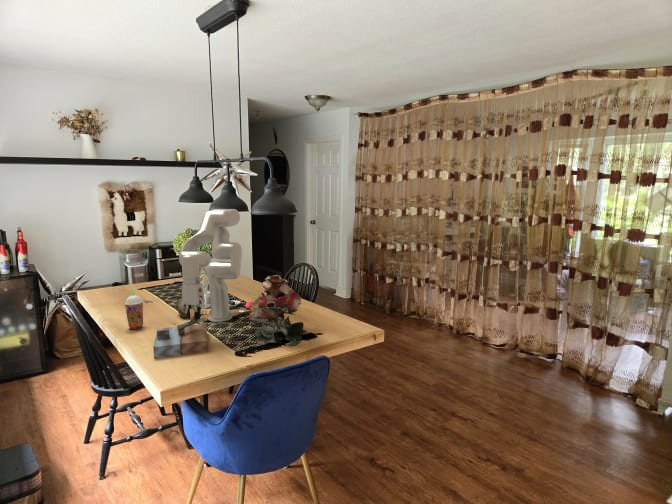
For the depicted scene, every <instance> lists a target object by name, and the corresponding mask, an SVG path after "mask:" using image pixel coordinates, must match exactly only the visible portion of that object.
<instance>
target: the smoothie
mask: <svg viewBox="0 0 672 504" xmlns="http://www.w3.org/2000/svg"><path fill="white" fill-rule="evenodd" d="M134 291H135V290H134V289H132V290H131V293H132V294H131V295H130V296H128V297H127V298H126V300H125V302H124V307H125V312H126V313H125V314H126V319H127V323H128V327H129V329H130V330H139V329H140V330H141V329H142V327H143V326H144V308H143V307H144V303H143V302H144V301H143V300H142V298H141V297H140V296H139V295H136V294H134Z"/></svg>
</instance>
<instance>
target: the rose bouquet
mask: <svg viewBox="0 0 672 504" xmlns="http://www.w3.org/2000/svg"><path fill="white" fill-rule="evenodd" d="M264 280H265V281H263V282H262V283H261V285H262V288H263V289H264V290H262V291H261V293H260V294H258V295H256V296H255V297H254V298H252V300H251V302H250V305H249V306H250V307H251V306H252V307H251V308H250V311H251V312H249V317H248V319H249V320H250V321H254V322H259V323H262V324H261V326H260V327H259V328H258V329H256V330H255V332H254V334H255V336H256V339H255V340H254V341H255V342H258V343H260V344H261V345H267V344H270V343H274V344H282V341H279V340H278V339H280V336H285V337H284V338H285V340H287V341H289V342H287V343H286V345H288V346H295V347H297V346H298V345H300V344H301V342H302V340H303V339H302V337H303V336H302V334H303V333H304V327H305V325H304V321H298V322H297V321H296V322H293V323H292V322H291V320H290V315H291V316H296V315H297V313H296V312H297V311H298V312H299V311H300V309H299V307H300V306H301V305H302V303H301V302H302V297H301V296H300V295H299V294H298V293H297V292H295V291H294V290H293V288H291V287H290V286H289V285H287V283H289V281H288V280H287V279H284V278H282V277H281V275H278V274H274V275H273V274H272V275H268V276H266V278H264ZM285 314H286V315H287V314H288V316H287V317H285ZM300 318H301V316H300ZM280 319H281V322H280Z"/></svg>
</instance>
